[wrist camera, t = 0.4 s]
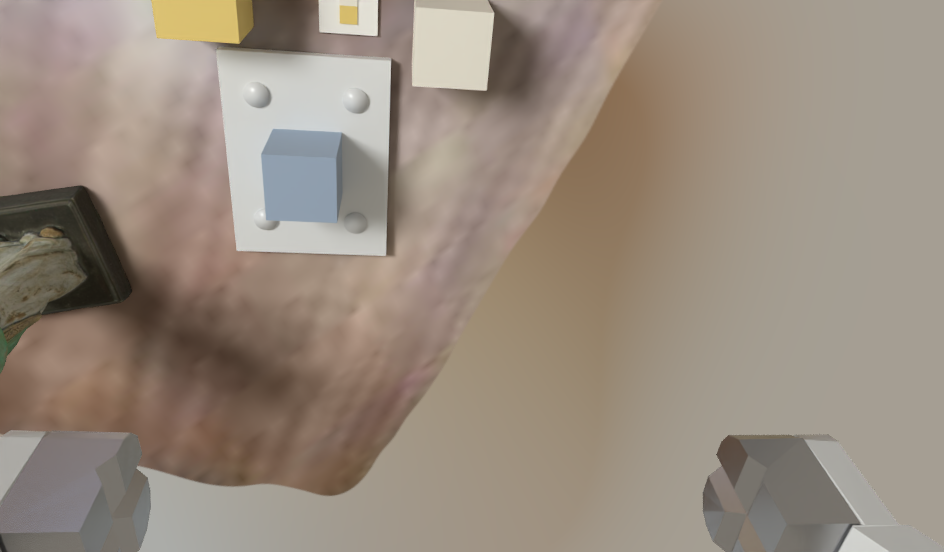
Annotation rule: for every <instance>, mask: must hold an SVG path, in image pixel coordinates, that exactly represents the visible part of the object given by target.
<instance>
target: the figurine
mask: <svg viewBox="0 0 944 552" xmlns="http://www.w3.org/2000/svg"><path fill="white" fill-rule="evenodd" d="M131 292H132V289H131V287H130V284H129V282H128V279H127V277H126V275H125V273H124V270H123V268H122V266H121V263H120V260H119V258H118V256H117V254H116V252H115V250H114V247H113V245H112V243H111V241H110V239H109V237H108V235H107V233H106V230H105V228H104V226H103V223H102V221H101V219H100V217H99V214H98V213H97V211H96V209H95V208H94V206H93V204H92V202H91V200H90V198H89V196H88V194H87V192H86V190H85V189H84V187H83V186H74V187H66V188H59V189H52V190H45V191H38V192H30V193H24V194H18V195H11V196H2V197H0V373H1V372H2V370H3V367H4V365H5V362H6V358H7V356H8V354H9V353H10V352H11V351H12V350H13V348H14V347H15V346H16V345H17V343H18V341H19V339H20V337H21V336H22V334H23V333H24V332H25V330H26V329H27V328H28V327H30V326H31V325H33V324H34V323H36V322H37V321H38V320H39V319H40V318H41V317H42V315H44V314H50V313H56V312H62V311H69V310H74V309H80V308H87V307H96V306H103V305H110V304H115V303H120V302H123V301H124V300H125V299H126V298H128V297H129V295H130V294H131Z"/></svg>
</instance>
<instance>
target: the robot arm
mask: <svg viewBox="0 0 944 552" xmlns="http://www.w3.org/2000/svg"><path fill="white" fill-rule="evenodd" d="M141 455H142V451H141V447H140V444H139V440H138V437H137V435H134V434H132V433H115V432H80V431H51V432H49V431H17V430H11V431H9V432H8V433H6V434H4V435H3V436H1V437H0V552H137V551H139V550H140V547H141V545H142V542H143V539H144V536H145V533H146V531H147V526H148V520H149V514H150V507H151V503H150V488H149V483H148V478H147V477H146V476H145V475H143V474H142V473H141V472H140V471H139V470H137V469H136V467H137V465H138V463H139V460H140V458H141ZM716 455H717V457H718V459H719V461H720V462H721V465H722V466H721V467H720V468H718V469H717V470H716V471H714V472H713V473H712V474H711V475H709V476H708V479H707V482H706V485H705V488H704V491H703V513H704V517H705V522H706V526H707V528H708V531H709V533H710V536H711V538H712V540H713V542H714V543H716V544H717V545H718V546H719V547H721V548H722V549H723V550H724V551H725V552H944V547H943V546H941V545H940V544H938V543H937V542H935V541H934V540H932V539H931V538H929V537H927V536H926V535H924V534H923V533H921V532H920V531H918V530H917V529H915V528H913V527H912V526H910V525H899V524H898V523H897V521H896V520H895V518H894V517H893V516H892V514H891V513H890V512H889V510H888V509H887V507H886V506H885V505H884V503H883V502H882V501H881V499H880V498H879V497H878V495H877V494H876V493H875V491H874V490H873V488H872V487H871V486H870V484H869V483H868V482H867V480H866V479H865V477H864V476H863V475H862V473H861V472H860V471H859V469H858V468H857V467H856V465H855V464H854V463H853V461H852V460H851V458H850V457H849V456H848V454H847V453H846V452H845V450H844V449H843V448H842V446H841V445H840V443H839V442H838V441H837V440H836V439H834V438H833V437H831V436H830V435H793V436H792V435H728V436H727V437H726V438H725V439H724V440H723V441H722V442H721V444H720V447H719V449H718V452H717V454H716Z"/></svg>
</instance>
